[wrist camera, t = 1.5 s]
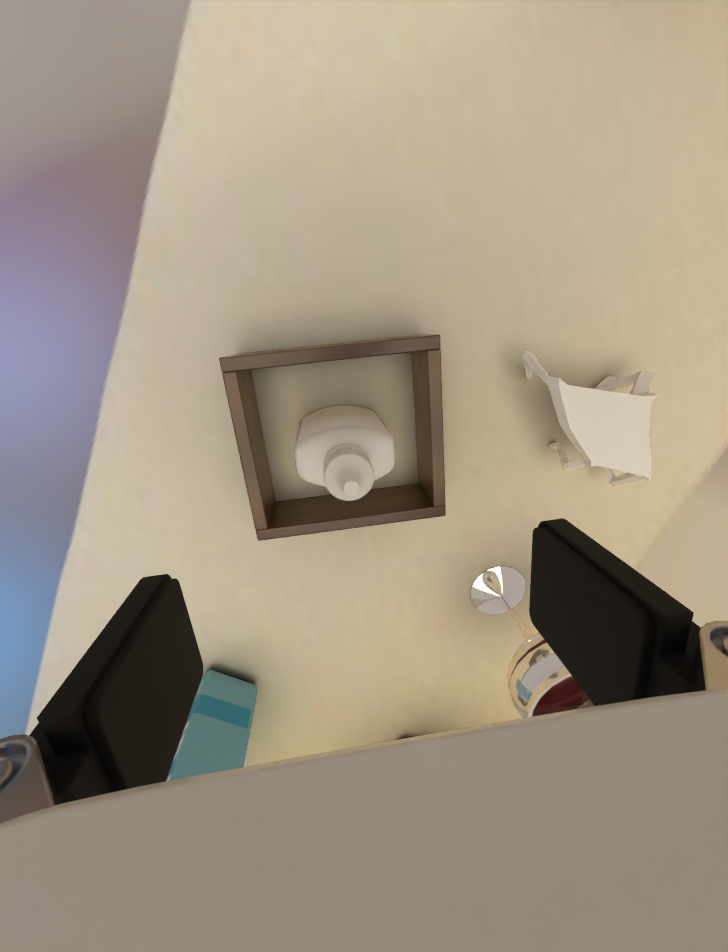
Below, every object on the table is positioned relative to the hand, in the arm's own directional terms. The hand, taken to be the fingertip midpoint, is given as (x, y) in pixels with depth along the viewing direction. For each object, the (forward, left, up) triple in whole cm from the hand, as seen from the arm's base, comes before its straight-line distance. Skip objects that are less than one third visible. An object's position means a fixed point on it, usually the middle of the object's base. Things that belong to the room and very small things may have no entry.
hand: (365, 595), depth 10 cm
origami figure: (0, +17, -20) cm, 26 cm away
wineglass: (+16, +12, -20) cm, 28 cm away
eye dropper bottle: (0, 0, -20) cm, 20 cm away
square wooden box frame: (0, 0, -20) cm, 20 cm away
